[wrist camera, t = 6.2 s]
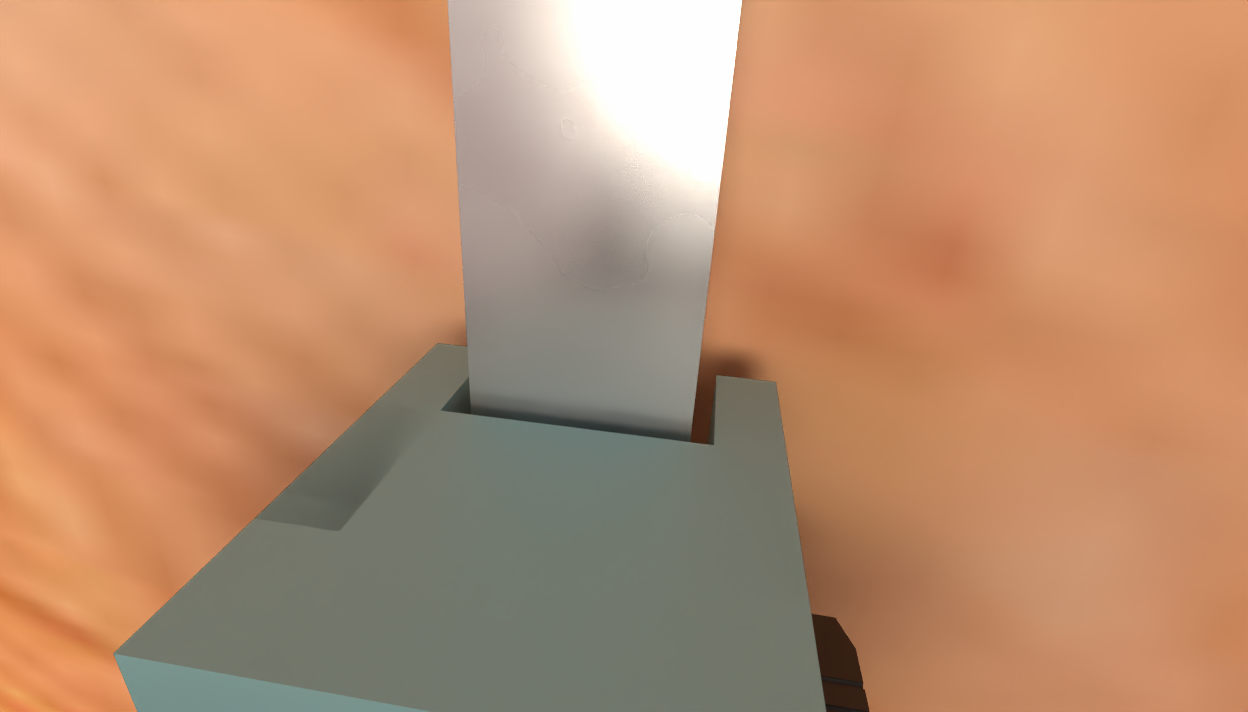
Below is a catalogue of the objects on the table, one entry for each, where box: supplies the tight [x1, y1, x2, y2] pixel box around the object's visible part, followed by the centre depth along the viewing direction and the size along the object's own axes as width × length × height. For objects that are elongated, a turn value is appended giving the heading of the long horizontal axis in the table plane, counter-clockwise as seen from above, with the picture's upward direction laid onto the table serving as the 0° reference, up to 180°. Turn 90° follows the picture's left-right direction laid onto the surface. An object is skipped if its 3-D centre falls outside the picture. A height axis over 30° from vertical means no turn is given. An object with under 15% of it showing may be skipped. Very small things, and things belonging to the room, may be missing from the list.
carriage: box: [113, 343, 826, 712], centre depth 9 cm, size 5×7×6 cm
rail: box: [448, 0, 742, 442], centre depth 10 cm, size 6×30×3 cm, turn 177°
